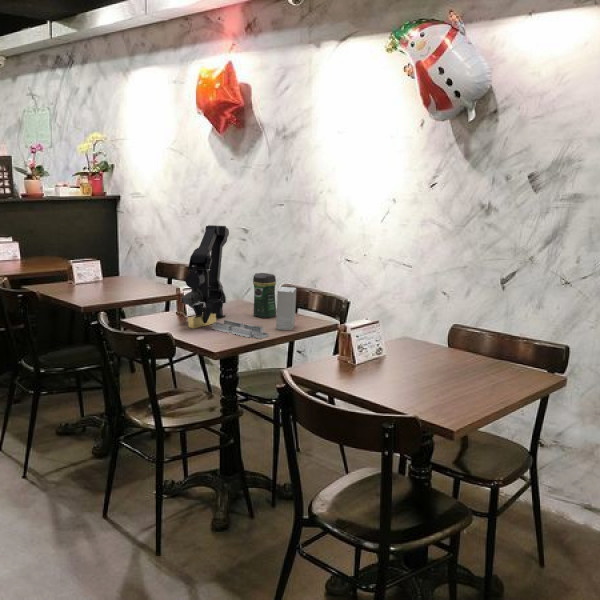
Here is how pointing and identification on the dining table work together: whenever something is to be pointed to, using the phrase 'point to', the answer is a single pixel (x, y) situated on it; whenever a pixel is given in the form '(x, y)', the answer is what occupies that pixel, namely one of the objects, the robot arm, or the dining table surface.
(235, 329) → the chain ends
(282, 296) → the skincare box
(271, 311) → the coffee jar
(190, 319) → the master link bar
